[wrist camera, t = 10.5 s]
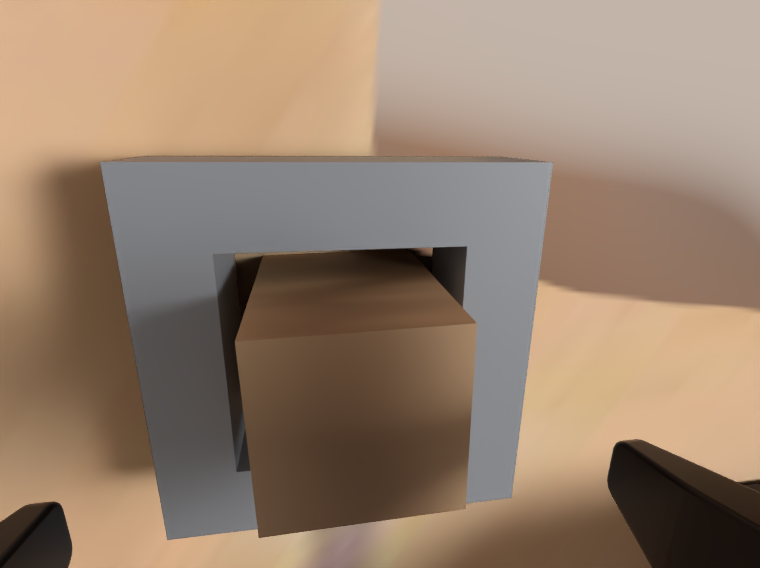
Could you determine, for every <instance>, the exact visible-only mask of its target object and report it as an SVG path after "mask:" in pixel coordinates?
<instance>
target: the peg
mask: <svg viewBox="0 0 760 568" xmlns="http://www.w3.org/2000/svg"><path fill="white" fill-rule="evenodd" d="M476 333H477V323H476V322H475V321H474V319H473V318H472V317H471V316H470V315H469V314H468V313H467V312H466V311H465V310H464V309H463V308H462V306H461V305H460V304H459V303H458V302H457V301H456V300H455V299H454V298H453V297H452V296H451V295H450V294H449V292H448V291H447V290H446V289H445V288H444V287H443V286H442V285H441V284H440V283H439V282H438V281H437V280H436V278H435V277H434V276H433V275H432V274H431V273H430V272H429V271H428V270H427V269H426V268H425V267H424V266H423V264H422V263H421V262H420V261H419V260H418V259H417V258H416V257H415V256H414V255H413V254H412V253H411V252H410V250H409V249H389V250H369V251H349V252H328V253H308V254H288V255H268V256H263V258H262V261H261V264H260V267H259V270H258V273H257V276H256V279H255V282H254V285H253V288H252V291H251V294H250V297H249V300H248V303H247V306H246V309H245V312H244V315H243V318H242V321H241V324H240V327H239V330H238V333H237V337H236V340H235V348H236V356H237V364H238V372H239V381H240V389H241V397H242V405H243V413H244V421H245V430H246V438H247V446H248V454H249V462H250V470H251V478H252V487H253V495H254V503H255V511H256V519H257V527H258V536H259V538H261V537H269V536H276V535H283V534H290V533H297V532H304V531H311V530H318V529H326V528H333V527H340V526H347V525H354V524H361V523H368V522H376V521H383V520H390V519H397V518H404V517H411V516H418V515H425V514H433V513H440V512H447V511H454V510H461V509H466V493H467V477H468V461H469V445H470V429H471V413H472V397H473V381H474V365H475V349H476Z"/></svg>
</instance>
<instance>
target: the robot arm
mask: <svg viewBox="0 0 760 568" xmlns="http://www.w3.org/2000/svg"><path fill="white" fill-rule="evenodd" d="M607 482H608V488H609V491H610V493H611V495H612V497H613V499H614V501H615V502H616V504H617V506H618V508H619V510H620V511H621V513H622V515H623V517H624V519H625V520H626V522H627V524H628V526H629V527H630V529H631V531H632V533H633V535H634V536H635V538H636V540H637V542H638V544H639V545H640V547H641V549H642V551H643V552H644V554H645V556H646V558H647V560H648V561H649V563H650V565H651V567H652V568H760V483H759V484H751V485H742V484H740V483H737V482H735V481H733V480H731V479H728V478H726V477H724V476H722V475H719V474H717V473H715V472H713V471H710V470H708V469H706V468H704V467H701V466H699V465H697V464H695V463H693V462H690V461H688V460H686V459H684V458H681V457H679V456H677V455H675V454H672V453H670V452H668V451H666V450H663V449H661V448H659V447H657V446H654V445H652V444H650V443H648V442H645V441H643V440H639V439H634V440H624V441H619V442H617V443H616V444H615V446H614V448H613V453H612V458H611V462H610V467H609V472H608V478H607ZM71 556H72V541H71V538H70V534H69V530H68V526H67V522H66V519H65V515H64V511H63V508H62V506H61V505H60V504H59V503H58V502H44V503H34V504H29V505H26V506H23V507H22V508H20V509H19V510H17V511H16V512H14V513H13V514H11V515H10V516H8V517H7V518H6V519H4V520H3V521H1V522H0V568H68V567H69V564H70V560H71Z"/></svg>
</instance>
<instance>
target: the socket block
mask: <svg viewBox="0 0 760 568" xmlns="http://www.w3.org/2000/svg"><path fill="white" fill-rule="evenodd" d="M100 165H101V171H102V176H103V182H104V187H105V193H106V199H107V204H108V210H109V215H110V221H111V227H112V232H113V238H114V243H115V249H116V255H117V260H118V266H119V272H120V277H121V283H122V288H123V294H124V300H125V305H126V311H127V316H128V322H129V328H130V333H131V339H132V344H133V350H134V356H135V361H136V367H137V372H138V378H139V384H140V389H141V395H142V401H143V406H144V412H145V417H146V423H147V429H148V434H149V440H150V445H151V451H152V457H153V462H154V468H155V473H156V479H157V485H158V490H159V496H160V502H161V507H162V513H163V518H164V524H165V530H166V535H167V540H172V539H180V538H188V537H196V536H204V535H212V534H220V533H229V532H237V531H245V530H253V529H258V527H257V519H256V511H255V503H254V495H253V487H252V478H251V470H250V462H249V454H248V446H247V438H246V430H245V421H244V413H243V405H242V397H241V389H240V381H239V372H238V364H237V356H236V348H235V340H236V337H237V333H238V330H239V327H240V324H241V318H240V308H239V297H238V286H237V276H236V265H235V255H234V253H262V252H295V251H328V250H362V249H395V248H429V247H433V255H432V275H433V276H434V277H435V278H436V280H437V281H438V282H439V283H440V284H441V285H442V286H443V287H444V288H445V289H446V290H447V291H448V292H449V294H450V295H451V296H452V297H453V298H454V299H455V300H456V301H457V302H458V303H459V304H460V305H461V306H462V308H463V309H464V310H465V311H466V312H467V313H468V314H469V315H470V316H471V317H472V318H473V319H474V321H475V322H476V323H477V333H476V349H475V365H474V381H473V397H472V413H471V429H470V445H469V461H468V477H467V493H466V503H473V502H481V501H489V500H497V499H506V498H511V496H512V488H513V480H514V472H515V464H516V456H517V448H518V440H519V432H520V424H521V416H522V408H523V400H524V392H525V384H526V376H527V368H528V360H529V352H530V344H531V336H532V328H533V319H534V311H535V303H536V295H537V287H538V279H539V270H540V263H541V255H542V247H543V239H544V230H545V223H546V215H547V207H548V199H549V191H550V182H551V175H552V167H553V162H545V161H536V160H527V159H518V158H508V157H407V156H406V157H405V156H404V157H403V156H402V157H401V156H400V157H399V156H398V157H395V156H394V157H393V156H388V157H387V156H381V157H380V156H143V157H135V158H128V159H120V160H112V161H105V162H100Z"/></svg>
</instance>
